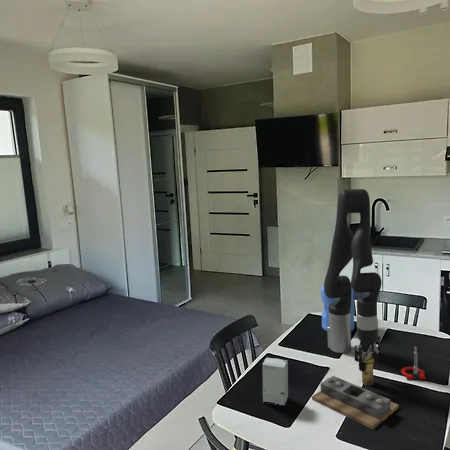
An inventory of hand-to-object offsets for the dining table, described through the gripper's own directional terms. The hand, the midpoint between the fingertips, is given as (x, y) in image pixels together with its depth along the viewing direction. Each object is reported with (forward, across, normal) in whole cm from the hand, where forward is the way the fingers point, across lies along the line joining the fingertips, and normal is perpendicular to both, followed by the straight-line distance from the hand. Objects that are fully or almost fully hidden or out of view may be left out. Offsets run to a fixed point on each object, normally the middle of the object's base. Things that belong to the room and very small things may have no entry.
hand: (368, 366), depth 157 cm
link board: (+7, +15, +3) cm, 17 cm away
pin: (+7, 0, -1) cm, 7 cm away
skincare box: (+7, +32, -18) cm, 37 cm away
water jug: (+6, -35, -38) cm, 52 cm away
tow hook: (+7, -17, +8) cm, 20 cm away
